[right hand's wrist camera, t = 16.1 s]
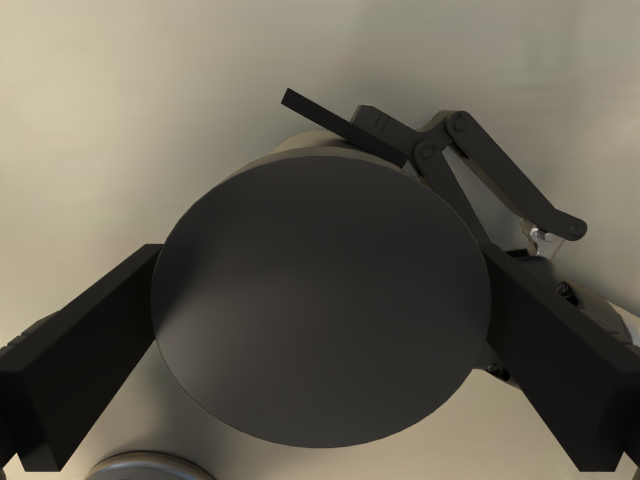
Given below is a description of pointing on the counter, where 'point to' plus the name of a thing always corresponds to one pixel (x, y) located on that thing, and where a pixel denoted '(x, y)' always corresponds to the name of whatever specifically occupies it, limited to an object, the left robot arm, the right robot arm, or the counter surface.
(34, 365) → the right robot arm
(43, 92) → the counter surface
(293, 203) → the lid
